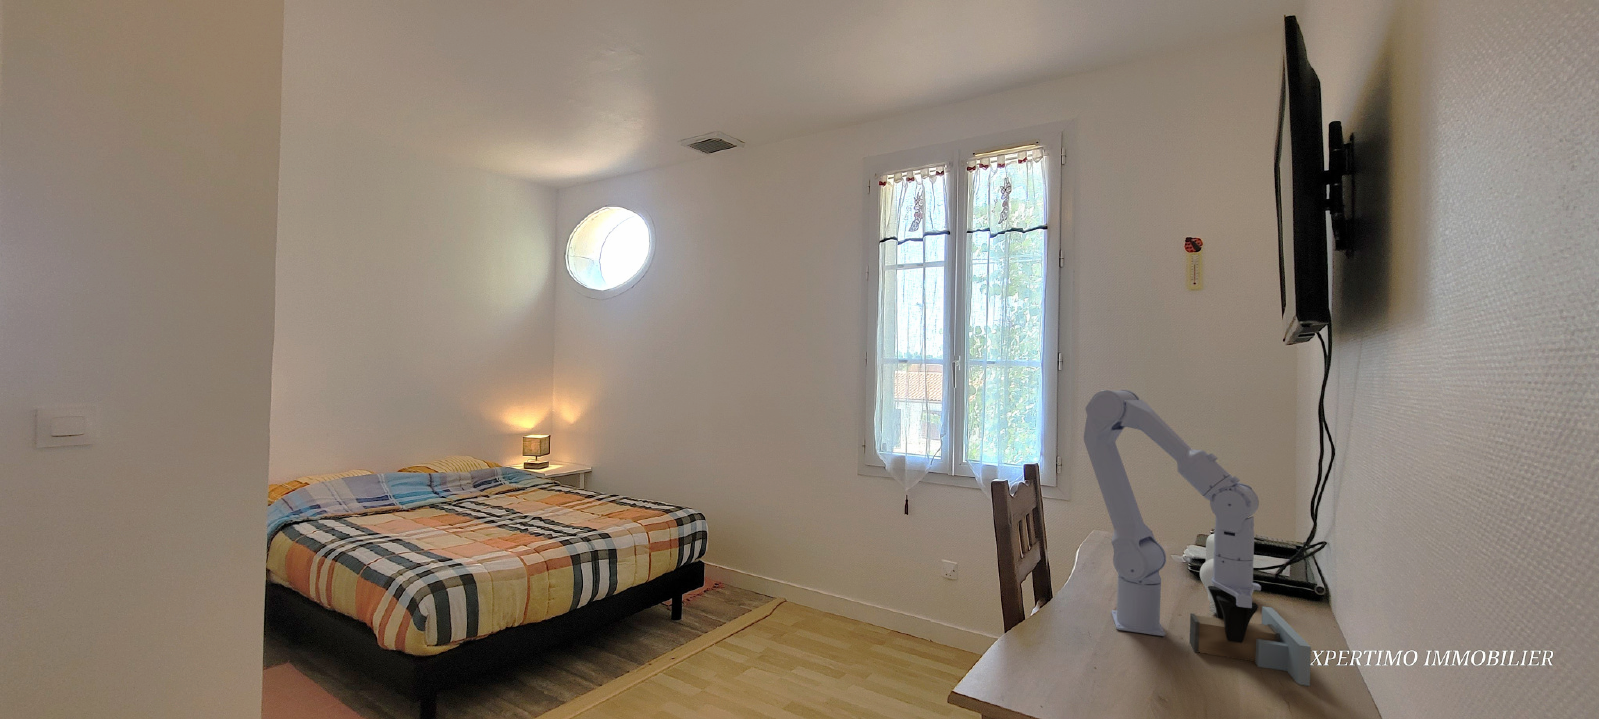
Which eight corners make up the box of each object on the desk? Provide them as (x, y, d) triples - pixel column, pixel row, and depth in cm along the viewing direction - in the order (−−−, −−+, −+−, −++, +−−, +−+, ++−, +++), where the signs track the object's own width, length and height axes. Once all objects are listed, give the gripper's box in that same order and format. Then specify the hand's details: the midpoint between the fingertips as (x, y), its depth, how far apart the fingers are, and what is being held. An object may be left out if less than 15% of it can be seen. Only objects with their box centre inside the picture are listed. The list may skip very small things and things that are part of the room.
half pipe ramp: (1194, 652, 116) (1195, 621, 116) (1189, 642, 120) (1190, 613, 120) (1279, 665, 112) (1280, 633, 112) (1271, 654, 116) (1271, 624, 116)
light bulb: (1224, 609, 137) (1226, 554, 137) (1245, 622, 130) (1247, 564, 130) (1191, 608, 137) (1193, 553, 137) (1210, 620, 130) (1212, 563, 130)
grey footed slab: (1235, 636, 123) (1236, 603, 123) (1270, 641, 121) (1271, 607, 121) (1267, 679, 106) (1269, 640, 106) (1309, 685, 104) (1310, 646, 104)
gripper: (1275, 571, 108) (1272, 657, 108) (1247, 548, 121) (1245, 624, 121) (1224, 565, 110) (1221, 649, 110) (1202, 543, 124) (1200, 618, 124)
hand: (1230, 636), depth 116 cm, fingers closed on half pipe ramp, 4 cm apart
